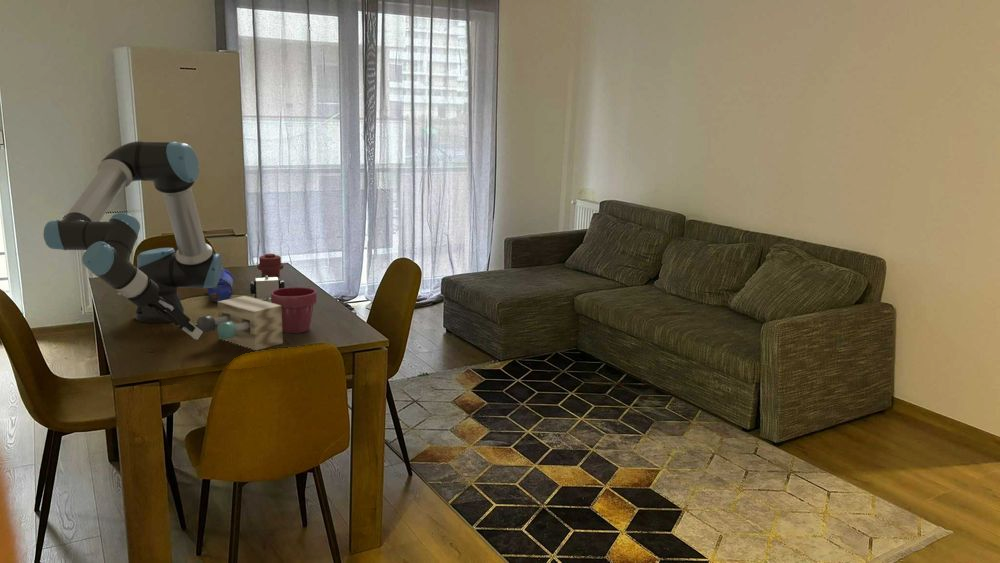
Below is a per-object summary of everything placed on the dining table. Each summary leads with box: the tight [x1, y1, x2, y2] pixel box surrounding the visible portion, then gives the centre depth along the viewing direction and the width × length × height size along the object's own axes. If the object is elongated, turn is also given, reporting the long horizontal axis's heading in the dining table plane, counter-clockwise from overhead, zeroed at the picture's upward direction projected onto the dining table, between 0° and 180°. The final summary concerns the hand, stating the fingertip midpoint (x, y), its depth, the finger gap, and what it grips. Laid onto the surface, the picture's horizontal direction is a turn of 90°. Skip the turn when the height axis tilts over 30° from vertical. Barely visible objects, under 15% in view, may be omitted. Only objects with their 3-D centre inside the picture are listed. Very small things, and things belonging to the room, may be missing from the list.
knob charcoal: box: [196, 315, 230, 334], centre depth 237 cm, size 12×5×5 cm, turn 144°
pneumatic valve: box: [249, 276, 286, 303], centre depth 278 cm, size 6×12×12 cm, turn 110°
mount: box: [216, 295, 284, 351], centre depth 240 cm, size 10×18×12 cm, turn 54°
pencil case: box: [207, 267, 235, 303], centre depth 293 cm, size 22×9×10 cm, turn 17°
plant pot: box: [271, 286, 317, 334], centre depth 254 cm, size 14×14×13 cm
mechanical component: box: [257, 253, 284, 279], centre depth 313 cm, size 12×10×10 cm
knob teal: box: [216, 321, 250, 341], centre depth 232 cm, size 12×5×5 cm, turn 144°
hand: (198, 335), depth 220 cm, fingers closed
